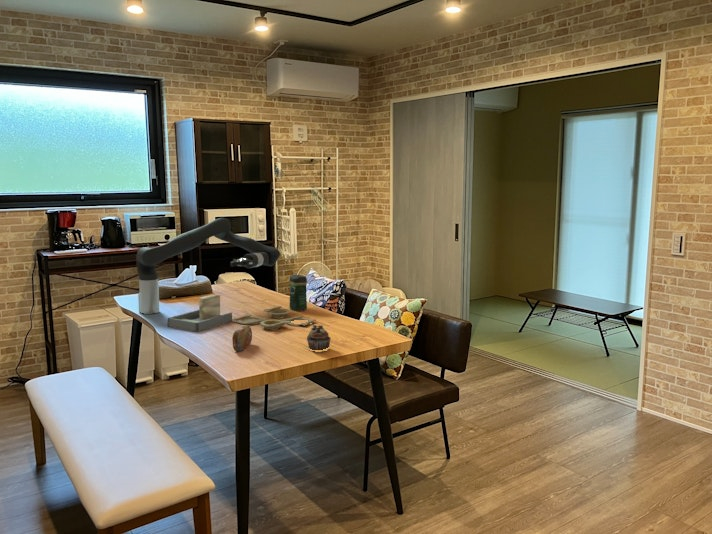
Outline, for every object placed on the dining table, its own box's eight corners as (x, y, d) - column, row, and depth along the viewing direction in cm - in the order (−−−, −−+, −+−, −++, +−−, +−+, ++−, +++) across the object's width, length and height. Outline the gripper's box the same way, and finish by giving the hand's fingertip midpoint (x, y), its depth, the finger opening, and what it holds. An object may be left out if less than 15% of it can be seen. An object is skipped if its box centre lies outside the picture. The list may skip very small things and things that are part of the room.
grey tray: (167, 326, 266) (167, 318, 265) (204, 316, 287) (203, 308, 286) (197, 331, 258) (196, 323, 257) (232, 320, 279) (232, 312, 278)
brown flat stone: (238, 353, 227) (238, 333, 226) (231, 353, 228) (230, 332, 226) (252, 343, 242) (252, 323, 240) (245, 342, 242) (245, 323, 241)
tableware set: (228, 321, 279) (228, 313, 278) (275, 312, 300) (275, 304, 300) (274, 335, 255) (274, 326, 255) (322, 324, 277) (322, 316, 276)
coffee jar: (309, 310, 304) (309, 275, 302) (296, 312, 300) (296, 276, 297) (299, 306, 312) (299, 273, 309) (287, 308, 307) (287, 274, 305)
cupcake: (332, 352, 230) (332, 328, 229) (308, 353, 228) (308, 329, 227) (328, 346, 240) (328, 322, 238) (305, 347, 238) (305, 323, 236)
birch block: (199, 318, 274) (199, 297, 273) (214, 314, 283) (213, 294, 282) (206, 319, 272) (205, 298, 271) (220, 315, 281) (219, 295, 280)
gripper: (243, 252, 306) (221, 255, 291) (263, 254, 300) (241, 257, 285) (243, 266, 307) (221, 270, 292) (263, 268, 301) (242, 272, 286)
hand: (231, 264), depth 289 cm, fingers closed
